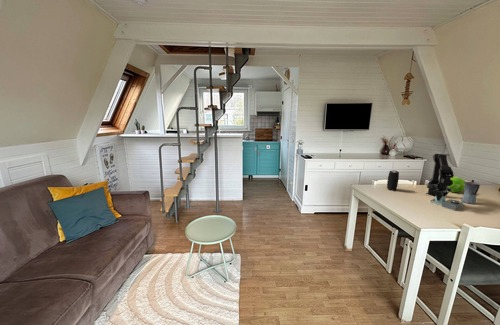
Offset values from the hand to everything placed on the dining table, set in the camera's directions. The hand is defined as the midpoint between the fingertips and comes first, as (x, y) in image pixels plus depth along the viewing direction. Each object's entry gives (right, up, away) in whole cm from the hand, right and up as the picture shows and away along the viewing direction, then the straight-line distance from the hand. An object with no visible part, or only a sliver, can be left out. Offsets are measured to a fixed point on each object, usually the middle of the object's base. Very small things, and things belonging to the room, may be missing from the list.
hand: (439, 200), depth 172 cm
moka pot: (+28, -3, +2) cm, 28 cm away
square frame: (+2, -4, -3) cm, 5 cm away
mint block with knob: (0, -1, 0) cm, 1 cm away
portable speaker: (-17, +4, +35) cm, 39 cm away
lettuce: (+42, +3, +30) cm, 52 cm away
